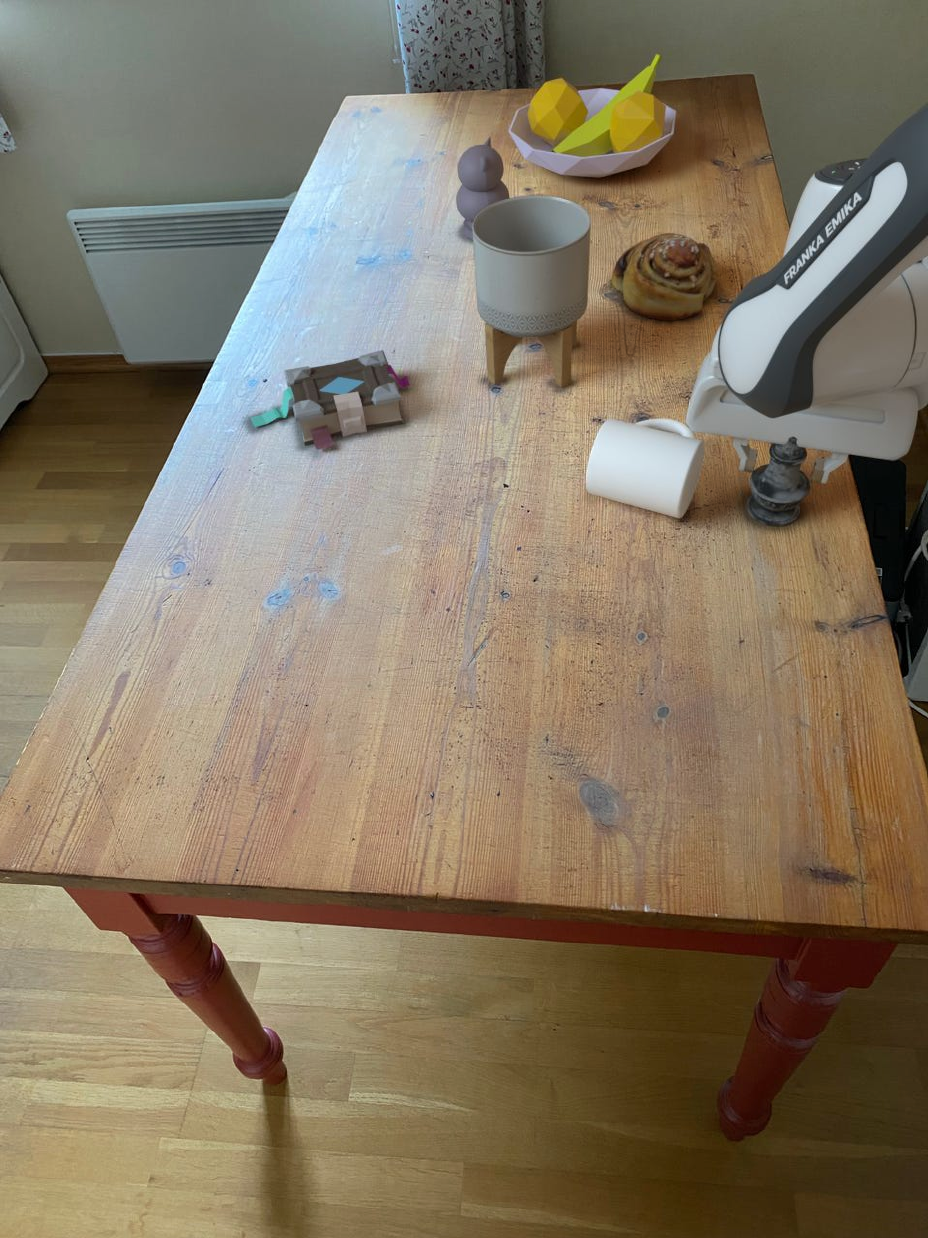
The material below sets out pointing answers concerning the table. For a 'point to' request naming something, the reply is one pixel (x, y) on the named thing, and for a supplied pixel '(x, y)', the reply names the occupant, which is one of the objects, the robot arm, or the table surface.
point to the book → (340, 398)
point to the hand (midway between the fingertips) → (782, 473)
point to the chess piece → (779, 485)
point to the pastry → (666, 276)
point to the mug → (646, 464)
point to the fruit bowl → (593, 127)
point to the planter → (531, 277)
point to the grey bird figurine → (479, 183)
